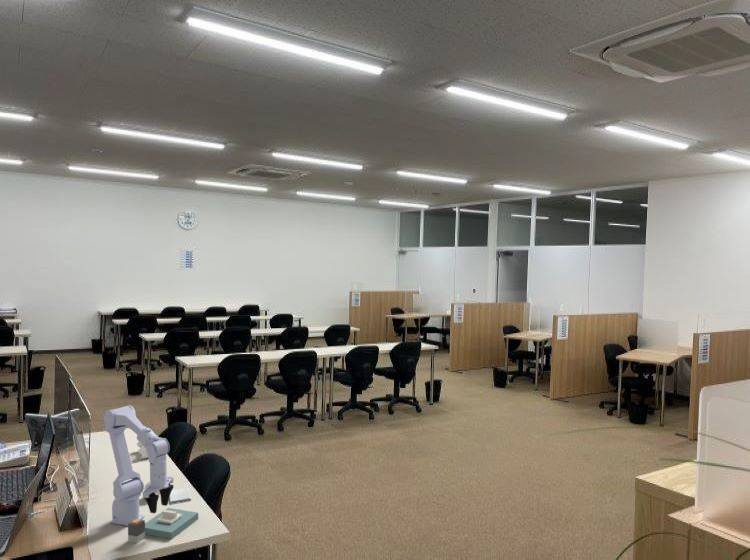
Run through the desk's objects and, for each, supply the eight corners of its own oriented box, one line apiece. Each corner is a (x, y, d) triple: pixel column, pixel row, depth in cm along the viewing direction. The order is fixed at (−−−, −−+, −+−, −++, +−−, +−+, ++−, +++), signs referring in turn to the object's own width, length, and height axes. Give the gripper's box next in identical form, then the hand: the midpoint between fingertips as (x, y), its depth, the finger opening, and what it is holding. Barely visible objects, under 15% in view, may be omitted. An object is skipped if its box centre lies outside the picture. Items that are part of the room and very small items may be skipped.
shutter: (157, 521, 205) (157, 514, 205) (168, 513, 211) (168, 506, 211) (171, 524, 203) (171, 516, 203) (182, 516, 209) (182, 509, 209)
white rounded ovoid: (156, 502, 227) (155, 484, 227) (140, 500, 229) (140, 483, 228) (169, 492, 237) (169, 475, 237) (154, 490, 238) (154, 474, 238)
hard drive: (191, 498, 229) (188, 486, 240) (170, 501, 225) (168, 489, 237) (191, 502, 229) (188, 490, 240) (170, 505, 225) (168, 493, 237)
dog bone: (136, 451, 287) (136, 436, 287) (154, 448, 291) (154, 433, 290) (138, 460, 273) (138, 444, 273) (156, 458, 277) (156, 442, 277)
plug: (128, 541, 196) (127, 522, 195) (136, 536, 199) (135, 517, 199) (137, 543, 194) (137, 524, 194) (145, 537, 198) (144, 519, 198)
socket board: (140, 533, 201) (139, 526, 201) (168, 513, 217) (168, 507, 216) (171, 539, 197) (171, 532, 197) (198, 518, 212) (198, 512, 212)
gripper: (153, 481, 192) (154, 519, 193) (180, 466, 206) (180, 501, 207) (137, 479, 194) (138, 516, 195) (164, 464, 208) (165, 499, 209)
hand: (158, 508), depth 201 cm, fingers open, 6 cm apart
